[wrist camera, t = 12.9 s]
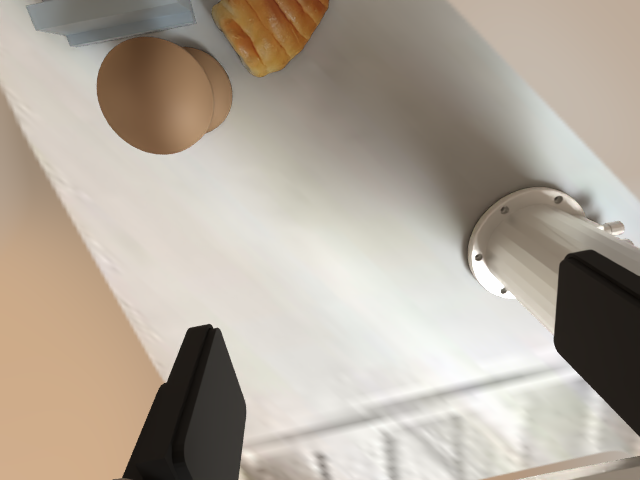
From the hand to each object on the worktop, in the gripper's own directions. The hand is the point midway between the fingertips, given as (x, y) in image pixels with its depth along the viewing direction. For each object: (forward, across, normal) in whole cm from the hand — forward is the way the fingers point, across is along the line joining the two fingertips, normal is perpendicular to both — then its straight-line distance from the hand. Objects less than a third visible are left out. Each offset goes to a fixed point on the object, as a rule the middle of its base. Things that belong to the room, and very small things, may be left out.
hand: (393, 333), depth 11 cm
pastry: (+29, +2, -11) cm, 31 cm away
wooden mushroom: (+28, +10, -7) cm, 31 cm away
